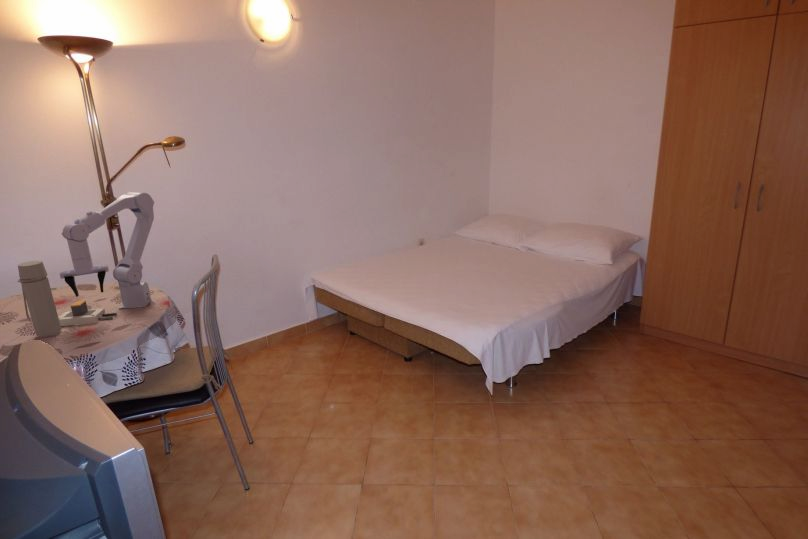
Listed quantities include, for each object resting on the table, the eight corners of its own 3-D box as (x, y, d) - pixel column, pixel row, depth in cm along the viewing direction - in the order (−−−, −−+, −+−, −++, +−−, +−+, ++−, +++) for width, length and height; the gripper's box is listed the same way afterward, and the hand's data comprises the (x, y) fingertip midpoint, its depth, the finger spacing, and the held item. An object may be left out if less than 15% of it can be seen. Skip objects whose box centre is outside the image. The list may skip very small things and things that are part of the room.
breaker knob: (87, 310, 177) (85, 300, 176) (82, 315, 173) (79, 304, 172) (79, 311, 177) (76, 301, 176) (73, 315, 173) (70, 305, 171)
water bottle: (67, 328, 168) (49, 259, 161) (52, 338, 161) (33, 266, 153) (40, 329, 168) (21, 260, 161) (24, 339, 161) (3, 267, 153)
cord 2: (116, 315, 179) (116, 312, 179) (115, 316, 178) (115, 313, 178) (102, 316, 179) (101, 313, 178) (101, 317, 178) (100, 314, 177)
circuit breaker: (105, 314, 180) (104, 307, 179) (96, 323, 172) (94, 316, 172) (67, 317, 178) (65, 311, 177) (56, 326, 171) (54, 319, 170)
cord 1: (113, 318, 176) (112, 315, 176) (112, 319, 175) (111, 316, 175) (98, 319, 175) (97, 317, 175) (97, 320, 174) (96, 318, 174)
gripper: (105, 251, 177) (113, 286, 181) (57, 258, 170) (66, 294, 174) (104, 256, 171) (113, 292, 175) (55, 262, 164) (65, 300, 168)
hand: (89, 293), depth 174 cm, fingers open, 7 cm apart
